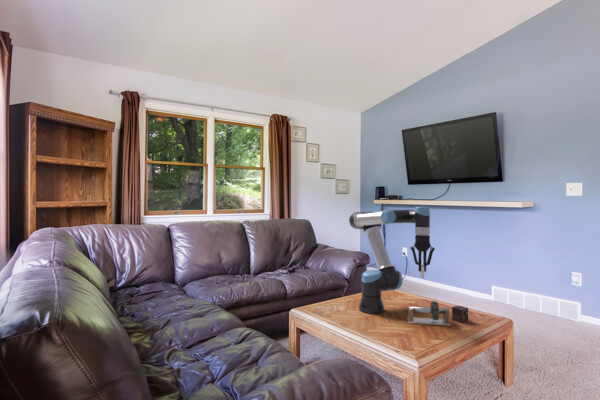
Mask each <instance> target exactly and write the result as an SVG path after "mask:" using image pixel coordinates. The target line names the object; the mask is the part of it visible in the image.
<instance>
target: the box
mask: <svg viewBox="0 0 600 400" xmlns="http://www.w3.org/2000/svg"><path fill="white" fill-rule="evenodd" d="M451 309H452V310H451V319H452V320H453V321H455V322H458V323H460V324H463V323H464V324H465V323H467V322H469V307H465V306H462V305H455V306H452V307H451ZM452 320H451V321H452Z"/></svg>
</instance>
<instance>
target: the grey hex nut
mask: <svg viewBox="0 0 600 400" xmlns="http://www.w3.org/2000/svg"><path fill="white" fill-rule="evenodd" d="M430 308H433V313H430V316H431V319H433V320H438V319H440V314H439V308H440V307H439V303H438V301H435V300H432V301H431V302H430Z"/></svg>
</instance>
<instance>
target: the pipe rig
mask: <svg viewBox="0 0 600 400" xmlns="http://www.w3.org/2000/svg"><path fill="white" fill-rule="evenodd" d="M414 313H427V314H431V313H433V308H431V307H430V306H428V307H426V306H425V307H424V306H411V305H409V306H408V307H407V317H406V319H407V320H408V321H407V322H408V323H409V324H420V325H422V324H423V325H432V326H433V325H434V326H435V325H436V326H447V327H448V326H451V323H450V310H449V308H442V307H441V308H440V307H439V315H440V314H441V315H442V318H441V319H440V318H439V319H438V320H433V319H432V318H430V317H429V318H427V317H414Z"/></svg>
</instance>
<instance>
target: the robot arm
mask: <svg viewBox="0 0 600 400" xmlns="http://www.w3.org/2000/svg"><path fill="white" fill-rule="evenodd" d="M430 217H431V210H430V207H429V206H415V209H386V210H385V209H384V210H381V211H357V212H353V213H352V214H350V216H349V219H348V223H349V225H350V227H351V228H353V229H356V230H363V233H364V234H365V235H367V238H368V241H369V244H370V247H371V250H372V253H373V257H374V260H375V263H376V266H377V269H370V270H369V269H368V270H366V271H364V272H362V275H361V298H360V301H359V304H358V310H359V311H360V312H361V313H366V314H373V315H374V314H377V315H378V314H383V313H384V312H385V305H384V301H383V299H382V292H389V291H390V292H391V291H395V290H400V288H401V287H402V285H403V282H404V279H403V275H402V273H401V271H399V270H397V269H396V267H395V265H393V264H392V263H391V260H390V257H389V255H388V251H387V248H386V246H385V242H384V240H383V239H384V238H383V237H382V234H381V229H382V225H386V224H387V225H388V224H390V225H391V224H415V225H414V226H415V229H414V230H415V231H414V234H415V235H414V237H415V238H414V244H413V245H412V246H409V247H410V250H411V252H412V256H413V260H414V263H415V265H417V266H418V272H420V273H419V274H420V278H421V279H424V278H425V272H427V266H429V265H431V261H432V257H433V253H434V251H435V250H436V248H435V247H434V246H432V245H431V241H430V240H431V239H430V238H431V237H430V234H431V233H430V231H431V230H430V229H431V228H430V227H431V226H430V224H431V223H430V222H431V219H430ZM415 250H417V252H418V255H417V254H416V251H415ZM428 250H429V252H428ZM427 252H428V256H427ZM422 255H423V257H422ZM417 256H418V259H417ZM422 259H423V261H422ZM422 262H423V263H422Z"/></svg>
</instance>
